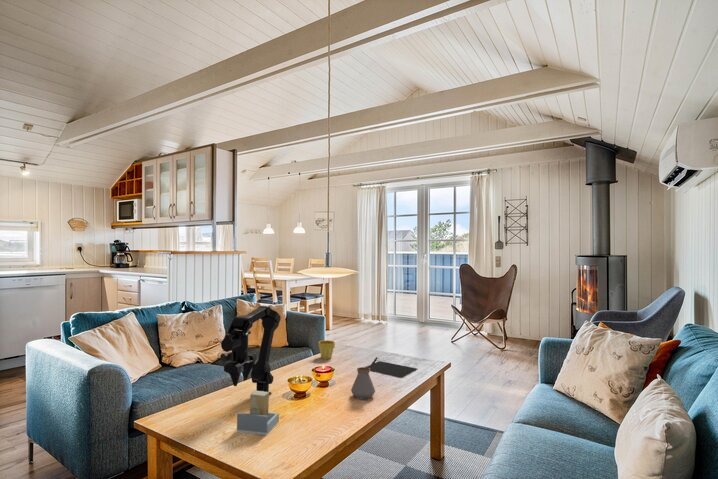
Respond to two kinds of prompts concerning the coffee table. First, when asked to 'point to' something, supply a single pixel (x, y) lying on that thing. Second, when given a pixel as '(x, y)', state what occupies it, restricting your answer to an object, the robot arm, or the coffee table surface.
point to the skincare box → (259, 403)
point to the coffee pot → (363, 383)
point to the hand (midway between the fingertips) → (240, 382)
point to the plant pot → (326, 348)
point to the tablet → (391, 369)
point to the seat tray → (256, 423)
